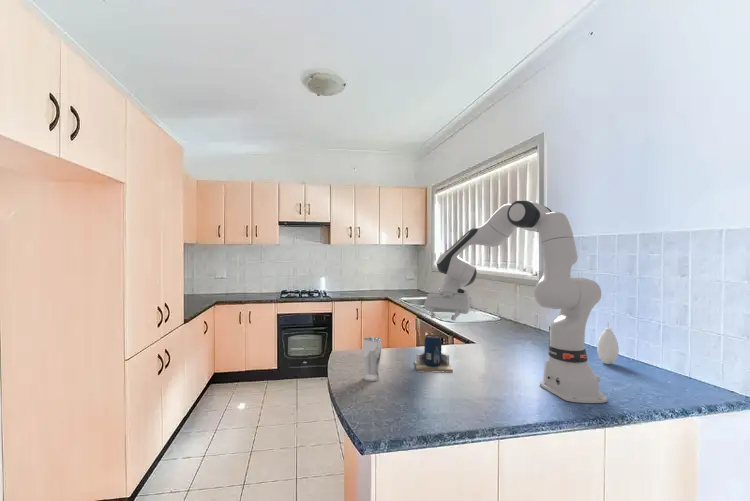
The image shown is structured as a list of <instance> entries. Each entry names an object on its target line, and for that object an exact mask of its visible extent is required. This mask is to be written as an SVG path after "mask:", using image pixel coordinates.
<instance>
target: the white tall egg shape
mask: <svg viewBox="0 0 750 501" xmlns="http://www.w3.org/2000/svg"><path fill="white" fill-rule="evenodd" d="M609 326H610V325H609V322H607V327H605V328H604V330H603V331H602V332H601V333H600V335H599V338H598V340H597V344H596V345H597V346H596V350H597V356H598V357H599V359H600V361H602V363H605V365H611V364H613V363H615V362H616V361H617V359H618V356H619V351H620V350H619V349H620V347H619V343H618V340H617V337H616V335H615V333H614V332H613V330H612V328H610V327H609Z"/></svg>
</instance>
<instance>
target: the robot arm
mask: <svg viewBox="0 0 750 501" xmlns="http://www.w3.org/2000/svg"><path fill="white" fill-rule="evenodd" d="M518 228H521V229H524V230H526V231H530V232H536V233H538V234H539V237H540V243H541V248H542V256H543V261H544V262H543V263H544V264H543V265H544V267H543V271H542V276H541V278H540V280H539V281H537V283H536V285H535V287H534V290H533V297H534V300H535V302H536V303H537V304H538V305H539V306H540V307H542V308H545V309H546V308H547V309H551V310H560V311H559V314H558V315H557V317H556V318H555V319H554V320H552V322H551V324H550V345H549V344H548V350H547V351H548V356H549V357H548V359H547V360H546V361H545V363H544V369H543V380H542V381H541V382H539V386H540V387H542V388H543V389H545V390H546V391H548V392H550V393H552V394H553V395H555V396H556V397H559V398H560V399H562V400H563V401H567V402H571V403H579V404H580V403H582V404H604V403H606V402H608V397H606V395H604V394H603V392H602V391H600V389H599V388H600V386H599V383H600V376H599V375H595V373H594V371H593V369H592V368H591V366H590V365H589V364H590V363H588V354H587V349H586V348H585V341H586V340H585V338H586V325H587V324H588V323H587V322H588V319H589V316H590V314H591V312H592V310H593V308H594V307H595V305H597V304H598V303H599V302H600V301H601V297H602V289H601V286H600V285H599V283H598V282H597V281H595V280H593V279H590V278H589V279H588V278H584V277H571V271H572V267H573V266H574V265H575V264H576V263H577V262H578V254H577V253H578V251H577V248H576V243H575V237H574V234H573V230H572V227H571V225H570V221H569V219H568V218H567V215H566V214H564V213H563V212H560V211H552V210H551V209H550V208H549V207H547V206H545V205H541V204H540V203H538V202H536V201H529V200H528V199H520V200H515V201H513V202H512V203H506V204H503V205H501V206H500V207H499V208H498V209H497V210H496V211H495V212H494V213H493V214H492V215H491V216H490V218H489V219H488V220H487V221H486V222H485V223H483V224H482V225H481V226H478V227H472V228H471V229H469V230H468V231H467V232H465V233H464V235H462V236H461V237H460V238H459V239H458V240H457V241H456V242H455V243H454V244H453V245H452V246H451V247H450V248H448V249H447V250H445V251H444V252H443V253H442V254H440V255H439V257H438V259H437V260H436V263H435V264H436V267H437V270H438V272H439V273H442V274H443V275H445V276H444V280H443V282H444V283H443V284H442V286H441V289H440V292H431V293H427V296H426V299H425V300H424V303H423V307H424V309H425V311H428V312H429V311H430V319H435V318H436V313H435V312H439V313H440V312H441V313H453V314H451V318H450V319H451V321H456V320H457V318H458V317H459V316H460V314H461V315H462V314H463V315H467V314H469V312H470V306H471V304H470V296H469V293H468V291H467V290H466V289H463V288H466V287H468V286H471V285H472V284H474V281H475V280H476V278H477V274H478V272H477V268H476V266H475V265H473V264H471V263H470V262H468V261H466V260H464V259H463V258H461V257H459V256H460V254H461V253H462V252H463V251H464V250H465V249H466V248H467V247H469V246H471V245H472V246H473V245H478V246H484V247H488V248H489V247H491V248H492V247H499V246H501V245H503V244H504V243H505V242H506V241H507V240H508V239H509V238H510V237H511V235H512V234H513V233H514V232H515V230H517V229H518Z"/></svg>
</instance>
